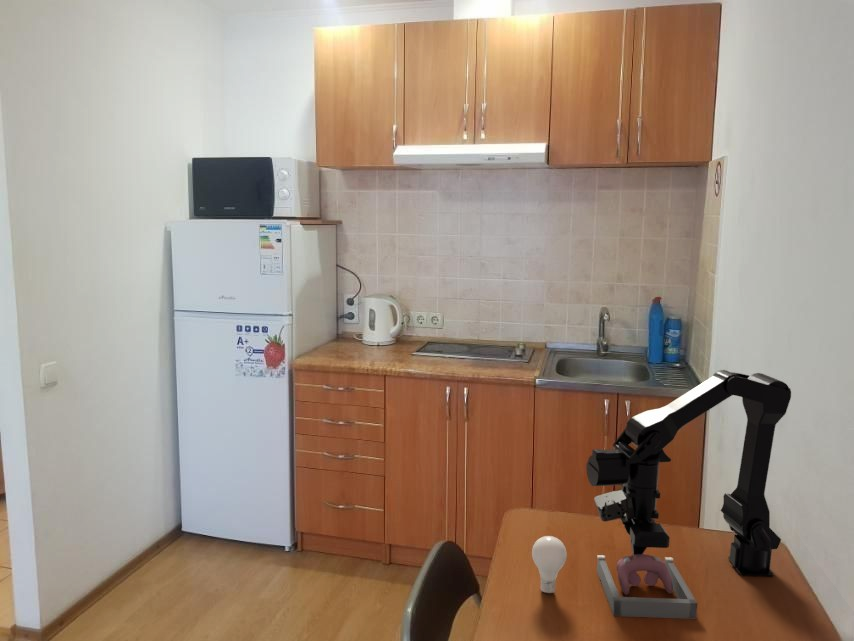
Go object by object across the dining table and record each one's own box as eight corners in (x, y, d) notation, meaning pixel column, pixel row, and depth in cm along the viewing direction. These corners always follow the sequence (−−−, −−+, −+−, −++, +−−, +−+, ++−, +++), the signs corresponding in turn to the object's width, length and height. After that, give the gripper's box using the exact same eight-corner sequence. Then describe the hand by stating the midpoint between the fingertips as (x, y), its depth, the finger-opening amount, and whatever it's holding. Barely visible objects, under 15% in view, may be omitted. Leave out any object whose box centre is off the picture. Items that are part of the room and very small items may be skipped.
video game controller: (666, 591, 129) (661, 553, 131) (676, 594, 124) (671, 554, 126) (616, 593, 128) (612, 554, 130) (624, 595, 124) (620, 555, 126)
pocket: (670, 573, 132) (671, 557, 132) (696, 619, 118) (698, 601, 117) (596, 570, 133) (597, 555, 132) (613, 615, 118) (614, 598, 118)
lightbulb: (543, 578, 130) (545, 526, 128) (571, 592, 125) (574, 538, 123) (523, 591, 125) (525, 537, 124) (551, 606, 121) (554, 550, 119)
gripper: (590, 462, 137) (586, 532, 140) (609, 503, 119) (604, 582, 121) (645, 463, 136) (639, 534, 139) (673, 505, 118) (666, 585, 121)
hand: (636, 557), depth 130 cm, fingers closed
